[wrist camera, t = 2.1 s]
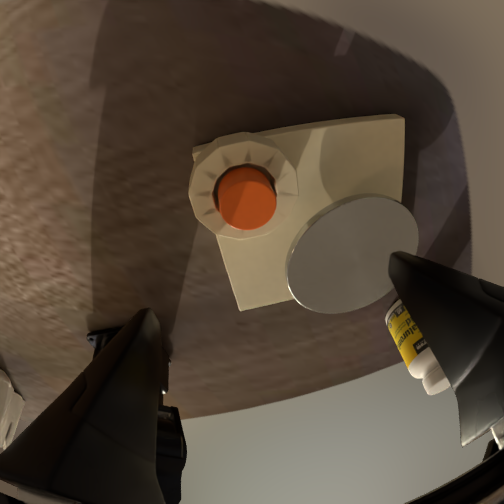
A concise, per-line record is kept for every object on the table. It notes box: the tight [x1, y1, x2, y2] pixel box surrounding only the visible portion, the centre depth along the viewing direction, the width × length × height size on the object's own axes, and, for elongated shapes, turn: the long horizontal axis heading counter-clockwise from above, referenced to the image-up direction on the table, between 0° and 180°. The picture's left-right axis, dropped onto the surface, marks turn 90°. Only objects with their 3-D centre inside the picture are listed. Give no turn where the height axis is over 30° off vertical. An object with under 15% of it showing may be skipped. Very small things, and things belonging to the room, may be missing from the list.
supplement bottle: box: [386, 299, 451, 395], centre depth 26 cm, size 5×5×10 cm
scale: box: [188, 114, 405, 311], centre depth 20 cm, size 14×14×3 cm
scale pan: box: [285, 193, 419, 314], centre depth 20 cm, size 10×10×1 cm
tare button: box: [218, 167, 277, 230], centre depth 16 cm, size 3×3×2 cm
